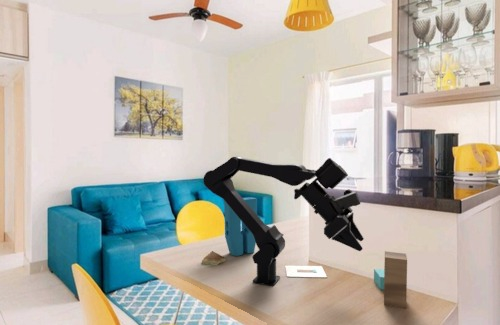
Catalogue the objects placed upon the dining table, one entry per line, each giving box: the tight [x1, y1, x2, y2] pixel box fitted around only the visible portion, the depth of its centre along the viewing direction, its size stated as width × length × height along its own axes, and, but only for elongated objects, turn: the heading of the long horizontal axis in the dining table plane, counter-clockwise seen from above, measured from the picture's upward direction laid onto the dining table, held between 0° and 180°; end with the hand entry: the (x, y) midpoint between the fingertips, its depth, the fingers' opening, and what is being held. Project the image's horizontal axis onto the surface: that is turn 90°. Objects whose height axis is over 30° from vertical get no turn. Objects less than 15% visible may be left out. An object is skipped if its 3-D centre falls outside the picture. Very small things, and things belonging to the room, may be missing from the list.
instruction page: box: [284, 265, 328, 279], centre depth 101 cm, size 9×12×1 cm
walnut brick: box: [383, 251, 408, 309], centre depth 81 cm, size 5×5×12 cm
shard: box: [201, 250, 227, 266], centre depth 113 cm, size 11×8×2 cm
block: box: [223, 196, 258, 257], centre depth 119 cm, size 12×5×20 cm, turn 122°
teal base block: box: [373, 268, 384, 291], centre depth 91 cm, size 6×6×4 cm
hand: (361, 244), depth 84 cm, fingers open, 9 cm apart
